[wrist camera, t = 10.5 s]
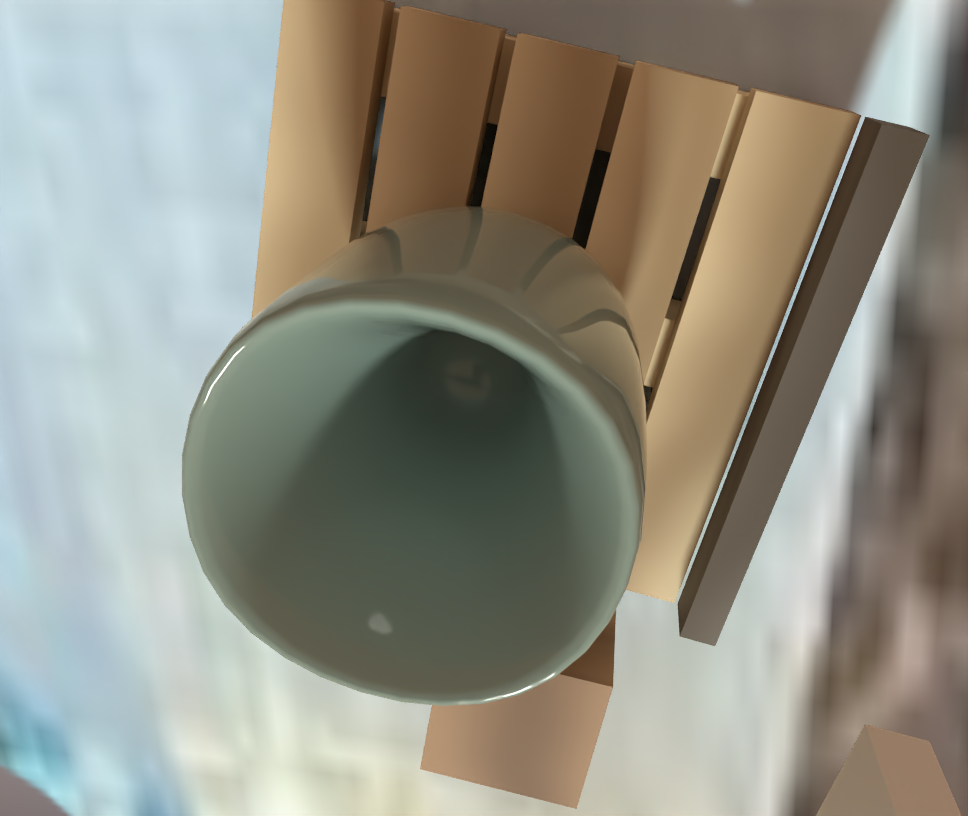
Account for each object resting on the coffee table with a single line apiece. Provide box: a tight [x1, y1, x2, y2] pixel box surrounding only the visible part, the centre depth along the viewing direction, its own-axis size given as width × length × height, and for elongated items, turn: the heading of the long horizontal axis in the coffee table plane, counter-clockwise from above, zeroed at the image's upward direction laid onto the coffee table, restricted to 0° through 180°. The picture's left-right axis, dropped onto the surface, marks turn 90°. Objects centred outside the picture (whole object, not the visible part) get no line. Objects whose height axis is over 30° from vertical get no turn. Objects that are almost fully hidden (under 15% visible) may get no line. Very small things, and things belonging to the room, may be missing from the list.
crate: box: [420, 610, 616, 809], centre depth 28 cm, size 5×5×5 cm
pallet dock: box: [252, 0, 930, 646], centre depth 24 cm, size 15×14×4 cm
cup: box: [182, 206, 647, 706], centre depth 19 cm, size 8×8×10 cm
